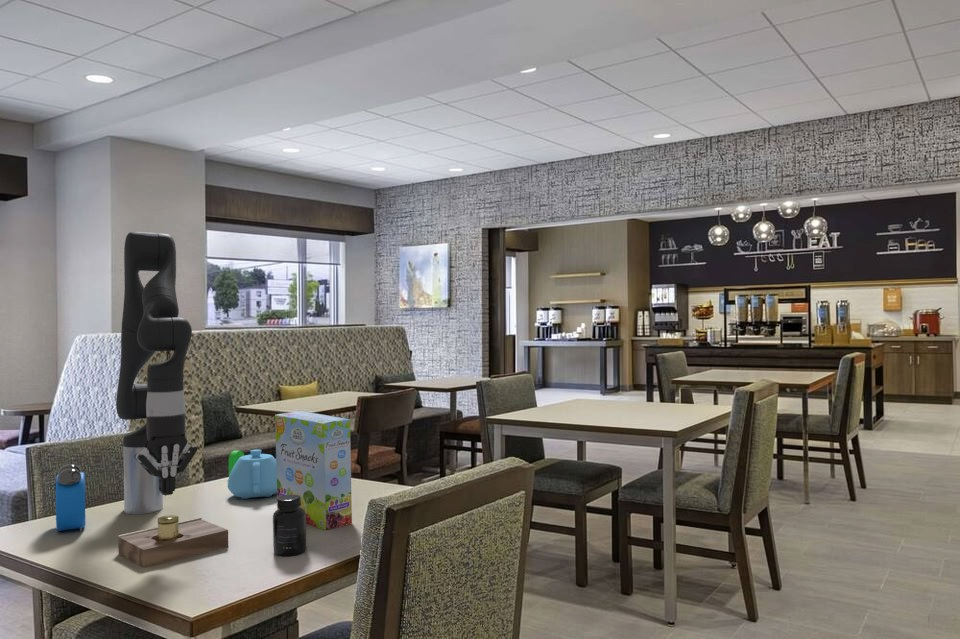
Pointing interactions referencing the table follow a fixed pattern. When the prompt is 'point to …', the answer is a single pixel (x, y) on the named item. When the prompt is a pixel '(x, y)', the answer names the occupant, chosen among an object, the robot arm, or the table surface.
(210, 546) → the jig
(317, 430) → the snack box
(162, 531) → the brass cylinder plug
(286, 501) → the supplement bottle
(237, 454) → the mechanical part
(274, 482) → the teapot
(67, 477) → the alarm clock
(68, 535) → the table surface
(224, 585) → the table surface
